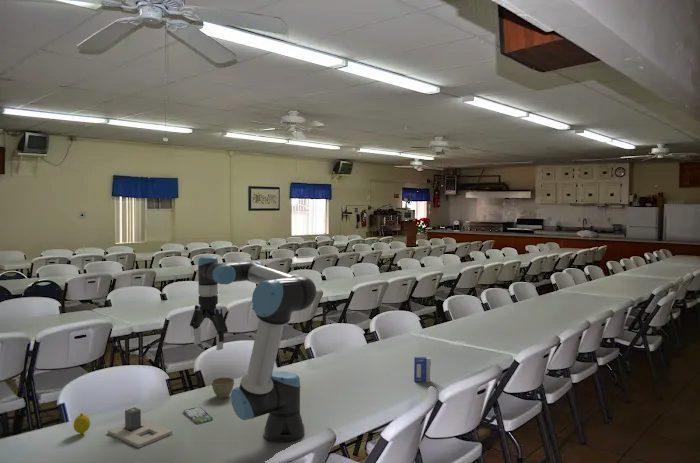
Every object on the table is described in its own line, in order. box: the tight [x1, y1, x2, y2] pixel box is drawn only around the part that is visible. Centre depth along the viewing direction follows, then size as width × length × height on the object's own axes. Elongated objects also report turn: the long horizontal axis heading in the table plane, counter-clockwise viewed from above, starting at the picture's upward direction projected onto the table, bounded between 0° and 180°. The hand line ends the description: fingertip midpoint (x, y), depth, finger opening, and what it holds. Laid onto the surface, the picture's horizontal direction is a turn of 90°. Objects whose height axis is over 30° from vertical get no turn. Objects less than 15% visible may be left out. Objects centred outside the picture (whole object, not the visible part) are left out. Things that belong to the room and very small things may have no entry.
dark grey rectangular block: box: [124, 406, 142, 432], centre depth 199 cm, size 4×4×8 cm
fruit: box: [73, 413, 91, 435], centre depth 195 cm, size 6×6×8 cm
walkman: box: [413, 356, 432, 383], centre depth 257 cm, size 8×3×12 cm, turn 86°
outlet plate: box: [107, 417, 173, 448], centre depth 197 cm, size 20×14×1 cm
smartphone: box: [183, 406, 214, 425], centre depth 213 cm, size 7×1×15 cm
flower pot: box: [210, 376, 235, 399], centre depth 235 cm, size 10×10×7 cm
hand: (208, 346), depth 212 cm, fingers open, 13 cm apart
